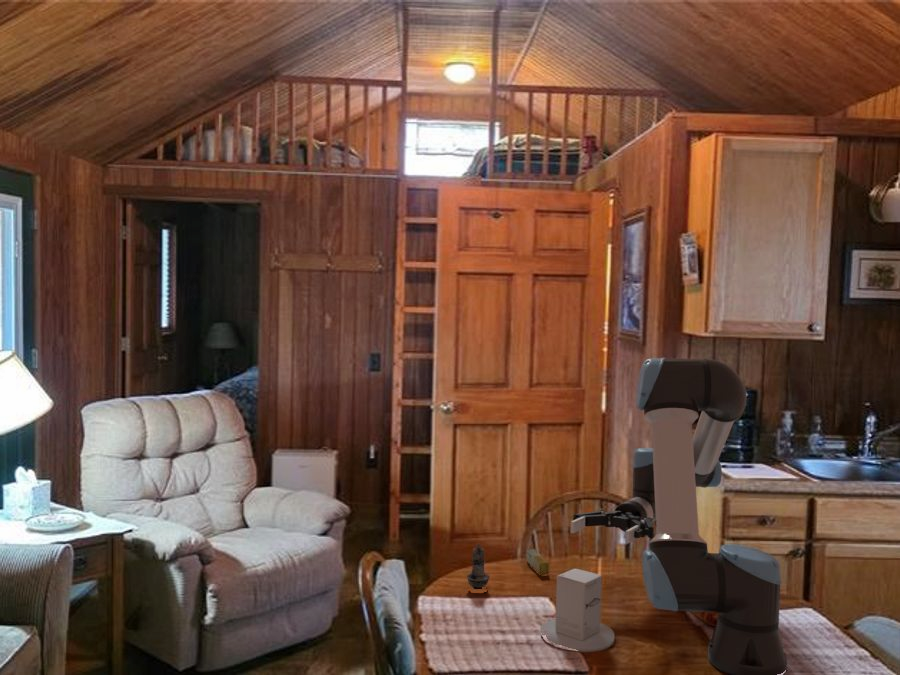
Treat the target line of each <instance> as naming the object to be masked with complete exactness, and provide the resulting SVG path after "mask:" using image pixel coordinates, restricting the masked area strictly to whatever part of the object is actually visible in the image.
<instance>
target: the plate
mask: <svg viewBox="0 0 900 675" xmlns="http://www.w3.org/2000/svg"><path fill="white" fill-rule="evenodd" d="M555 625H556V618H554V619H551V620H550V619H549V620H548V621H546V622H544V623H543V624H542V625H541V627H540V630H542V629H544V630H542V631H544V632H542V631H541V632H542V633H544V634H542V635H545V628H546V629H547V630H546V631H547V632H546V637H547V639H548V640H550V641H552V642H554V643H556V644H559V645H562V646H565V647H568V648H572V649H576V650H578V651H581V652H580V653H593V652H600V651H603V650H607V649H609V648H610V647H612V645H614V643H615V633H614V631H613V629H611V627H609V626H608V625H607V624H604V623H602V622H600V631H599V632H597V633H595V634H593V635H591V636H589V637H588V638H586V639H584V640H583V641H581V640H578V639H575V638H573V637H570V636H567V635H564V634H561V633H558V632H556V631H555ZM544 626H545V627H544ZM542 627H543V628H542ZM548 630H549V631H548ZM548 632H549V633H548ZM547 635H548V636H547Z"/></svg>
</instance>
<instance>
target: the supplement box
mask: <svg viewBox="0 0 900 675" xmlns="http://www.w3.org/2000/svg"><path fill="white" fill-rule="evenodd" d="M602 579H603V576H602V575H601V574H598V573H596V572H595V573H594V572H591V571H588V570H583V569H579V568H571V569H570V570H568V571H565V572H563V573H561V574H558V575H556V596H555V597H556V600H555V619H556V625H555V631H556V632H558V633H561V634H564V635H567V636H570V637H573V638H575V639H578V640H581V641H583V640H584V639H586V638H588V637H589V636H591V635H593V634H595V633H597V632H599V631H600V623H601V617H602V615H601V614H602V613H601V612H602V585H603V584H602V581H603V580H602Z"/></svg>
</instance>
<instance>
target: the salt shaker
mask: <svg viewBox="0 0 900 675" xmlns="http://www.w3.org/2000/svg"><path fill="white" fill-rule="evenodd" d="M472 549H473V550H472V560H471V564H472V569H471V572H470V573H468V574H467V575H466V578H467V582H468V584H469V585H470V587H471V586H472V587H473V588H474V589H482V587H486V586H487V585H488V583H489V579H490V575H489V574H487V573H486V572H485V564H486V560H485V549H484V548H483V547H481V544H480V543H478V544H477V546H476V547H474V548H472Z"/></svg>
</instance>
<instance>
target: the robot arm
mask: <svg viewBox="0 0 900 675" xmlns="http://www.w3.org/2000/svg"><path fill="white" fill-rule="evenodd" d="M635 397H636V398H635V401H636V402H635V403H636V405H635V406H636V408H637V410H640V411H643V415H644V416H643V418H644V419H645V420H646V422H648V423H649V424H650V425H651V437H652V438H651V442H652V443H651V444H652V447H638V448H636V449H635V450H634V452H633V463H632V496H631V497H632V498H630V499H627V500H626V501H624V502H621V503H620V504H618V505H617V506H616V508H615V509H614V510H613V511H607V512H605V510H603V509H599V510H597V511H589V512H587V511H586V512H580V513H574V514H573V519H572V520H571V521H570V534H576V533H578V532H580V531H581V530H582V531H583V530H584V529H585V528H586V527H598V526H600V527H602V526H604V527H606V528H616V529H620V531H622V532H625V534H624V535H625V536H624V537H625V538H624V540H625V544H630V543H632V542H633V541H635V540H637V539H640V538H645V537H646V536H647V538H648V539H651V540H649V544H648V546H649V549H645V550H644V551H643V552H642V555H641V556H642V557H641V560H642V561H641V562H642V566H641V567H642V577H643V582H644V587H645V591H646V595H647V597H648V600H649V603H651V605H652V606H653V607H654V608H655V609H658V610H665V611H672V612H679V611H680V612H693V611H694V612H716V613H718V622H717V625H716V626H714V631H713V633H712V635H711V637H710V638H711V639H710V641H709V642H708V643H709V644H708V646H707V659H708V662H709V663H710V664H711V665H712V666H713V667H715V668H716V669H718V670H719V671H721V672H723V673H726V674H728V675H777V674H781V673H783V672H784V671H785V670H786V668H787V667H788V658H787V655H786V652H785V649H784V645H783V642H782V639H781V634H780V630H779V628H780V627H779V625H780V623H779V622H780V605H781V602H780V600H781V585H782V579H781V565H780V562H779V561H778V560H777V558H775V557H774V556H773V555H772V554H769V553H768V552H765V551H763V550H761V549H758V548H755V547H751V546H747V545H742V544H735V543H728V544H722V545H721V546H720V548H719V550H718V552H719V553H713V552H709V551H708V542H707V541H705V539H704V538H703V537H702V536H700V533H699V532H700V530H699V517H698V516H699V515H698V502H697V500H698V499H697V488H705V489H706V488H716V487H719V485H720V484H721V482H722V475H723V473H722V472H723V471H722V470H723V469H722V464H721V462H720V460H719V458H720V456H721V454H722V451H723V448H724V446H725V444H726V441H727V439H728V437H729V435H730V432H731V429H732V428H733V425H734V423H735V422H736V421H738V420H739V419H740V418H741V417H742V415H743V413H744V412H745V408H746V405H747V401H748V400H747V399H748V398H747V391H746V387H745V385H744V382H743V380H742V379H741V377H740V376H739V374H738V373H737V372H736V370H734V369H733V368H732V367H731V366H730V365H728V364H727V363H724V362H723V361H720V360H717V359H713V358H701V359H700V358H676V357H675V358H674V357H673V358H672V357H669V358H668V357H661V358H660V357H657V358H656V357H655V358H652V357H651V358H647V359H646V360H644V361H643V362H642V364H641V367H640V371H639V374H638V381H637V388H636V396H635ZM699 412H701V413H700V415H699ZM697 419H698V421H697ZM695 421H697V424H696V426H695V427H696V428H695V430H694V433H693V424H694V422H695ZM654 522H655V527H656V528H655V530H656V532H655V535H654V525H653V523H654ZM787 669H788V668H787Z"/></svg>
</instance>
